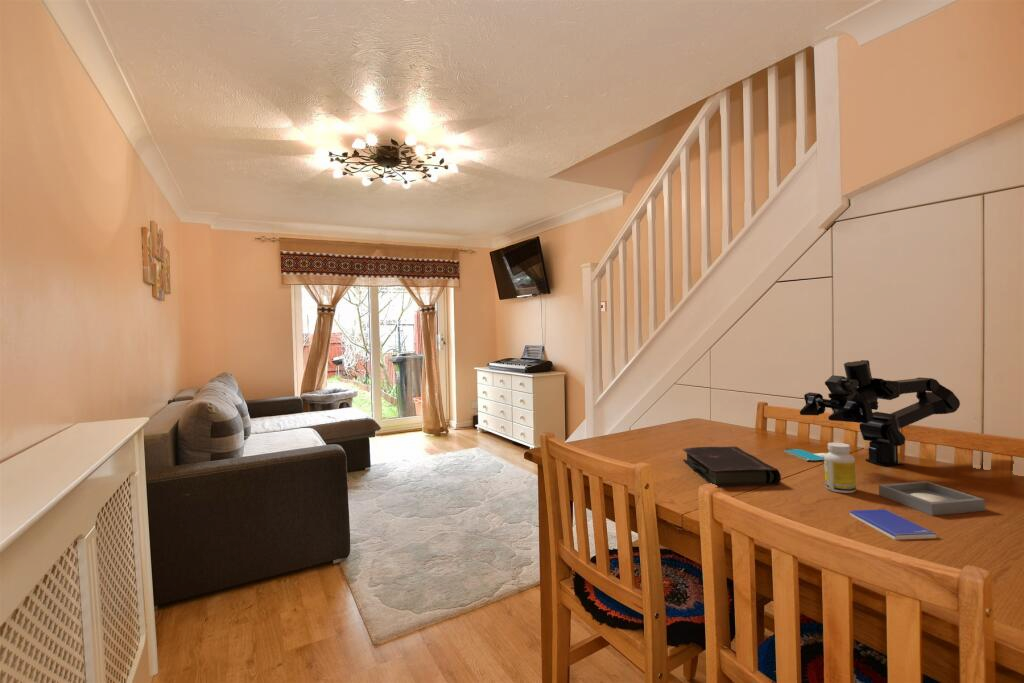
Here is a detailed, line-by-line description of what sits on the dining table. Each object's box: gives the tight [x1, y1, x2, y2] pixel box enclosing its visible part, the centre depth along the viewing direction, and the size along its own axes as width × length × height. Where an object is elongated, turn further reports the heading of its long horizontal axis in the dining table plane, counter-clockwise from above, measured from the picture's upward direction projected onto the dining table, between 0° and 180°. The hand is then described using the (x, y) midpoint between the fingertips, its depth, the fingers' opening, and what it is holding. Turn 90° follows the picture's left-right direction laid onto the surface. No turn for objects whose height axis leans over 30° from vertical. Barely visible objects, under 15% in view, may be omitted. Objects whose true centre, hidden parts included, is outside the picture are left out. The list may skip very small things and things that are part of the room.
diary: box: [682, 446, 782, 488], centre depth 137 cm, size 19×25×5 cm
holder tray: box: [878, 480, 986, 517], centre depth 108 cm, size 13×13×2 cm
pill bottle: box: [823, 442, 857, 494], centre depth 119 cm, size 6×6×12 cm
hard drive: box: [849, 508, 937, 541], centre depth 97 cm, size 2×8×12 cm
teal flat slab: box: [783, 447, 827, 464], centre depth 149 cm, size 20×12×2 cm, turn 5°
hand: (814, 415), depth 132 cm, fingers open, 9 cm apart
